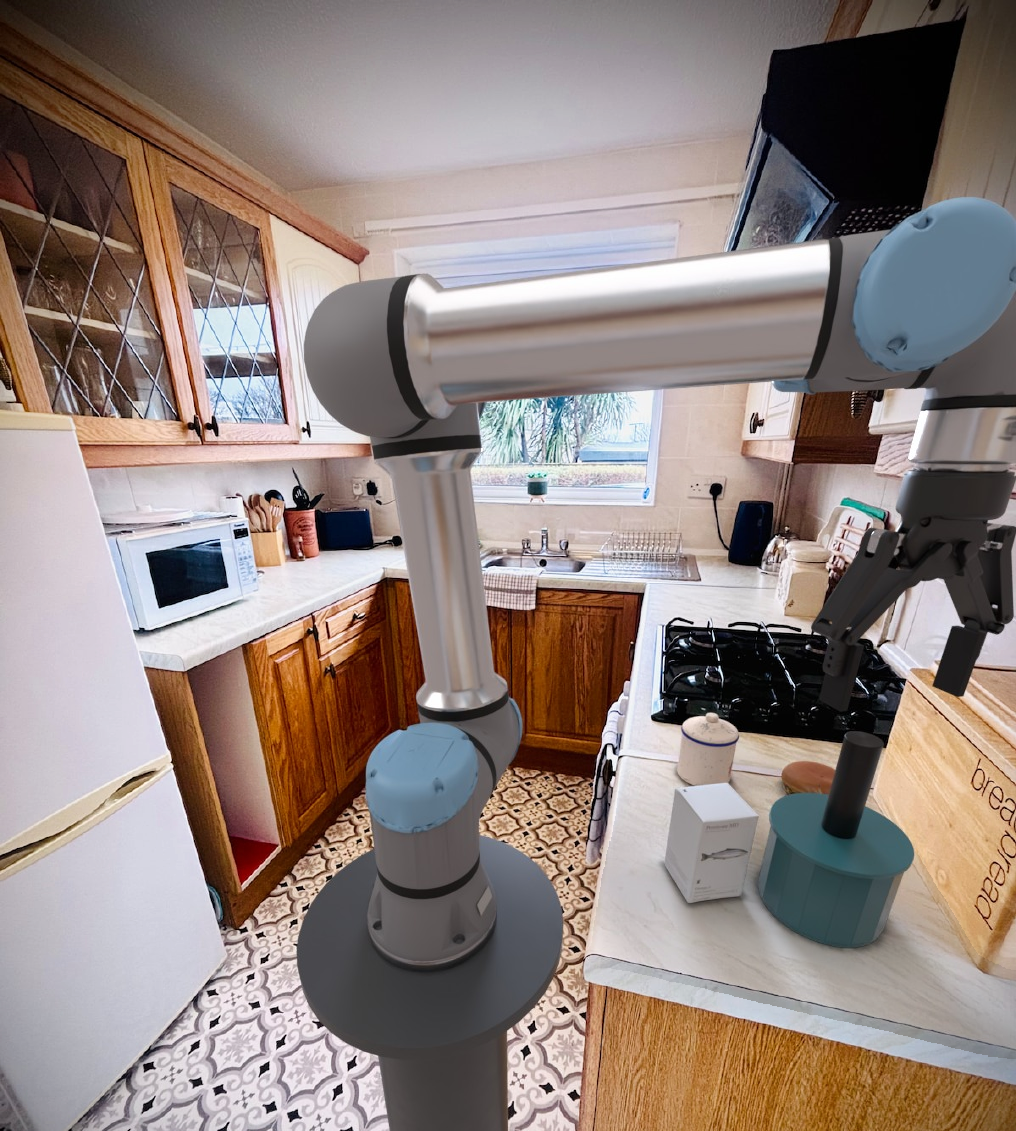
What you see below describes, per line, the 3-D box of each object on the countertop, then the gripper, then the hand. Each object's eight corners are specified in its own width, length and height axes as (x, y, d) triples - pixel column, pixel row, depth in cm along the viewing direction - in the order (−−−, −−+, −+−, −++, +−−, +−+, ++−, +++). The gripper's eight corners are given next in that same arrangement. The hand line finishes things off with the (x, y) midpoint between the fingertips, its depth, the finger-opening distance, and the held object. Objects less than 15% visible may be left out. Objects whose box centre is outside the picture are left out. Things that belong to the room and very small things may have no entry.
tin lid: (784, 872, 58) (810, 768, 53) (756, 794, 72) (775, 704, 66) (938, 893, 56) (981, 784, 51) (879, 807, 69) (908, 714, 64)
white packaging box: (687, 905, 67) (701, 822, 62) (662, 863, 74) (673, 785, 69) (743, 898, 68) (761, 815, 63) (713, 857, 75) (727, 780, 70)
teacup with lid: (741, 788, 90) (752, 726, 85) (687, 791, 89) (696, 729, 84) (710, 751, 101) (719, 694, 96) (662, 753, 100) (669, 696, 95)
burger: (789, 771, 94) (795, 748, 92) (850, 792, 89) (857, 768, 87) (770, 797, 88) (776, 772, 86) (835, 822, 82) (842, 796, 80)
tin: (771, 936, 63) (789, 865, 59) (748, 856, 75) (762, 793, 71) (903, 957, 60) (931, 884, 56) (857, 870, 72) (877, 805, 68)
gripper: (871, 471, 39) (809, 730, 48) (1127, 466, 44) (1031, 701, 53) (798, 468, 46) (755, 694, 54) (1028, 464, 51) (956, 672, 59)
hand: (891, 698), depth 54 cm, fingers open, 13 cm apart
